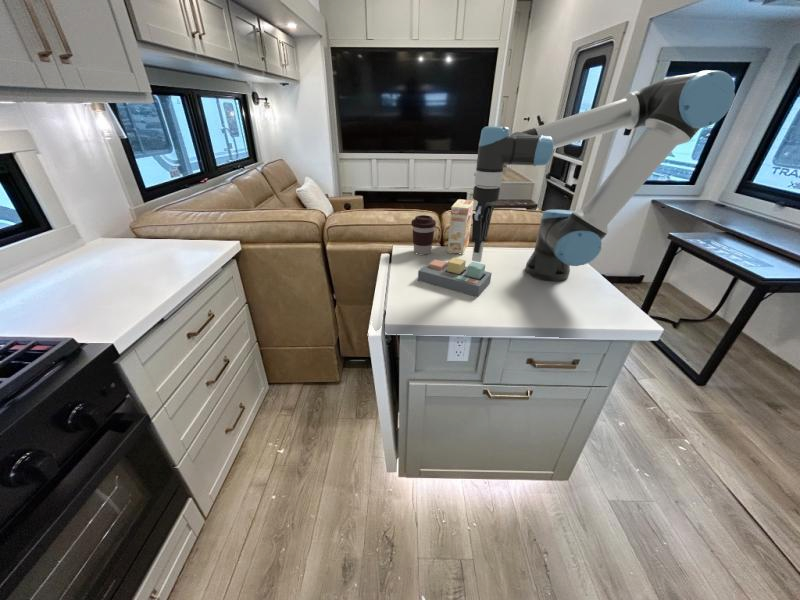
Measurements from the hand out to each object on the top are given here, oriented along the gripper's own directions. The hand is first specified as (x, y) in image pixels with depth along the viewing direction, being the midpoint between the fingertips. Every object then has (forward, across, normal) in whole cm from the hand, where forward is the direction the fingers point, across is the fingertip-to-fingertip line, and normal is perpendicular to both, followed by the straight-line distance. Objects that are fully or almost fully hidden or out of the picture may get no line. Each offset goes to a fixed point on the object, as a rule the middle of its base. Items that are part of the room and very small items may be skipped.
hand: (476, 260), depth 106 cm
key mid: (+5, 0, -7) cm, 9 cm away
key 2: (+5, 0, 0) cm, 5 cm away
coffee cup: (+10, -18, -30) cm, 36 cm away
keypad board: (+9, +1, -7) cm, 12 cm away
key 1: (+8, 0, -14) cm, 16 cm away
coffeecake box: (+10, -31, -19) cm, 38 cm away
